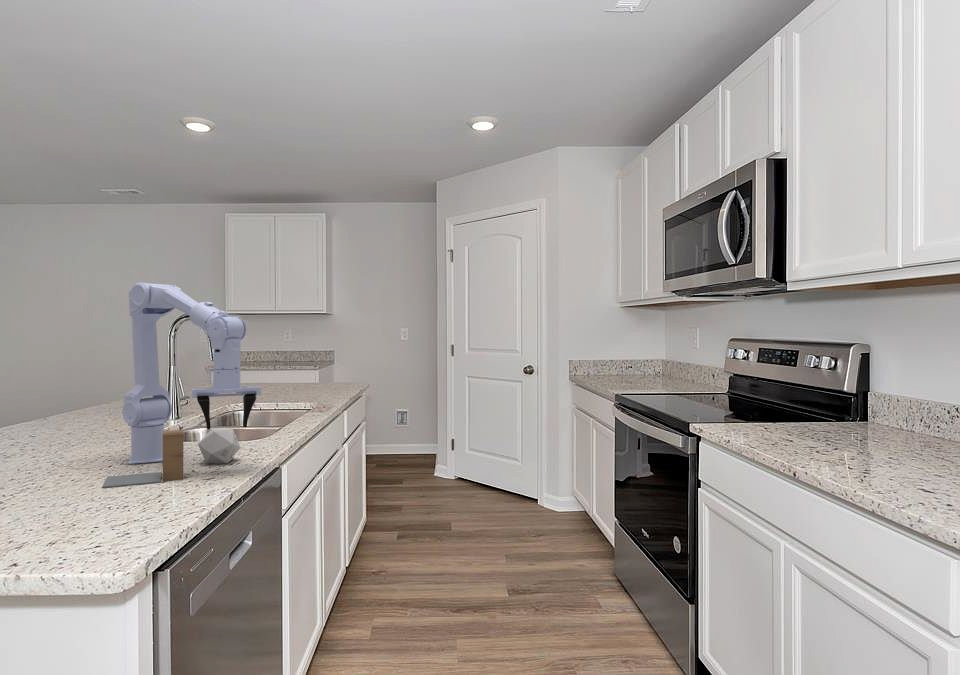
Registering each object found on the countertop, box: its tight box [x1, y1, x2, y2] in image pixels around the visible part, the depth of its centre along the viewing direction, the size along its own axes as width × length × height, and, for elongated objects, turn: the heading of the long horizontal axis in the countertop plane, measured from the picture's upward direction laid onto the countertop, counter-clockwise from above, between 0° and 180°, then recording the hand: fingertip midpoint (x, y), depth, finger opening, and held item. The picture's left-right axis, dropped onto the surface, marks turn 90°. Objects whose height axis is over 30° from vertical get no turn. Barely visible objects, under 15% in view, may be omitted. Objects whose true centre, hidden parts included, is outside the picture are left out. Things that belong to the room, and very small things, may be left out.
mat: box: [101, 471, 163, 489], centre depth 128 cm, size 9×11×1 cm
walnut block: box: [162, 429, 184, 482], centre depth 131 cm, size 6×4×10 cm, turn 26°
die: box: [197, 428, 241, 464], centre depth 146 cm, size 8×9×10 cm
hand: (226, 427), depth 136 cm, fingers open, 7 cm apart
